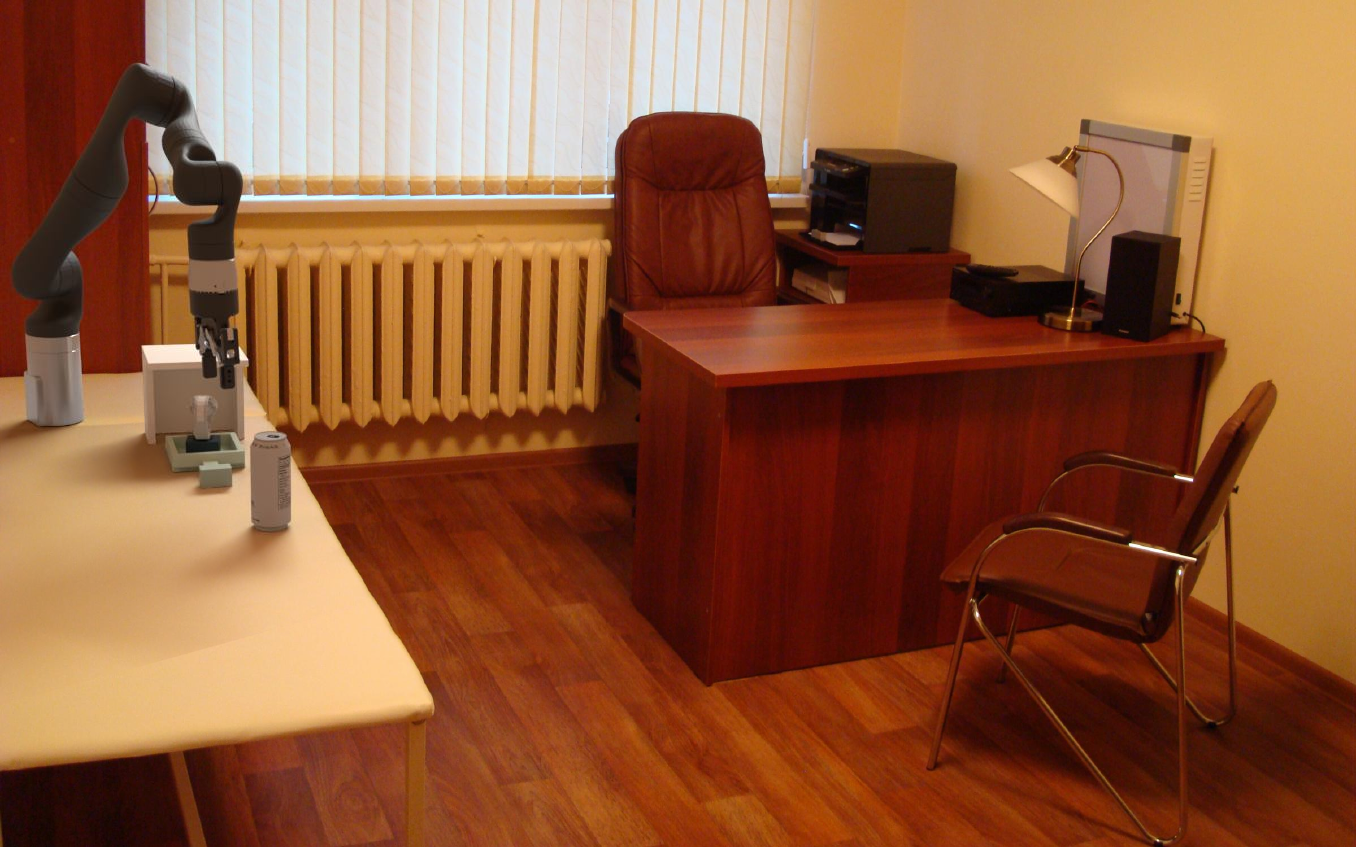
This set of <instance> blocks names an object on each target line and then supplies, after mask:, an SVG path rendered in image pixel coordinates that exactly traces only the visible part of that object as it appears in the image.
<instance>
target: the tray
mask: <svg viewBox="0 0 1356 847" xmlns="http://www.w3.org/2000/svg"><path fill="white" fill-rule="evenodd" d="M188 435H189V434H178V435H177V434H175V435H165V452H166V455H167V458H168V461H169V464H170V466H171V470H172V472H173V473H178V472H179V473H180V472H195V471H197V472H198V475H199V486H200V488H201V489H205V488H206V489H209V488H218V487H219V488H221V487H222V488H223V487H233V469H237V468H245V467H246V456H245V455H246V454H245V453H246V451H245V449H244V447H243V445H242V442H241V441H240V439H238V437H237V435H236V433H235V432H234V431H231V432H230V431H229V432H213V433H212V432H211V433H210V435H220V445H221V451H213V452H197V453H186V439H187V436H188ZM190 435H195V434H194V433H193V434H190Z"/></svg>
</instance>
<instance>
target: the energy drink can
mask: <svg viewBox="0 0 1356 847" xmlns="http://www.w3.org/2000/svg"><path fill="white" fill-rule="evenodd" d="M287 436H288V435H287V434H286V433H284V432H282V431H278V430H277V431H276V430H275V431H274V430H273V431H272V430H266V431H260V432H259V431H258V432H257V433H255V434H254V435H253V437H254V438H253V440H252V442H251V443H250V445H249V453H250V455H249V459H250V460H249V461H250V462H249V463H250V464H249V466H250V469H249V471H250V516H251V518H250V521H251V523H252V524H253V526H254V528H255V529H256V530H258V531H261V532H270V533H271V532H278V531H282V530H285V529H286V528H287V527H288V525H289V523H291V521H292V469H291V468H292V464H291V463H292V458H291V456H292V455H291V454H292V452H291V451H292V449H291V446H292V445H291V444H290V442H289V440H288V438H287Z"/></svg>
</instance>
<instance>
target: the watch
mask: <svg viewBox="0 0 1356 847" xmlns="http://www.w3.org/2000/svg"><path fill="white" fill-rule="evenodd" d="M217 408H218V402H217V400H216V399H215V398H213V397H212V396H209V395H197V396H193V398H191V400H190V402H189V404H187V409H190V411H191V413H192V414H193V416H194V418H195V422H194V431H193V434H195V435H191V434H187V435H188V436H187V439H186V453H197V452H213V451H221V445H220V435H210V433H212V432H211V431H212V430H211V419H212V420H213V419H214V416H215V414H216V412H217Z"/></svg>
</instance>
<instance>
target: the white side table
mask: <svg viewBox="0 0 1356 847" xmlns="http://www.w3.org/2000/svg"><path fill="white" fill-rule="evenodd" d="M215 356H216V355H215ZM239 356H240V364H236V365H235V366H234V373H235V387H234V388H232V389H222V388H221V387H220V374H219V367H220V366H219V363H218V359H217V356H216V362H217V377H215V378H207V379H206V378H204V377H203V373H202V356H200V354H199V350H196V347H195V343H193V344H192V343H190V344H189V343H187V344H183V343H182V344H151V345H150V344H148V345H141V359H142V360H141V362H142V364H141V365H142V367H141V368H142V386H143V387H142V388H143V412H144V415H143V416H144V432H145V433H144V434H145V437H146V440H147V443H148V445H156V444H157V443H156V442H157V441H156V434H169V433H170V434H171V433H173V434H175V433H190V432H192V433H194V422H195V418H194V416H193V414H192V413H191V411H190V409H187V404H189V402H190V400H191V398H193V396H197V395H209V396H212V397H213V398H215V399H216V400H217V402H218V408H217V412H216V414H215V416H214V419H213V420H212V419H211V431H224V430H225V431H227V430H228V431H229V430H232V431H233V432H235V433H236V435H237V437H238V439H239V440H241V439H242V440H243V439H245V437H246V436H245V395H244V394H245V388H244V383H245V382H244V368H246V367H249V364H250V363H249V359H248V357H247V356H246V354H245V353H244V351H243V349H241V347H240V346H239ZM227 357H229V355H228V354H227Z"/></svg>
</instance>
